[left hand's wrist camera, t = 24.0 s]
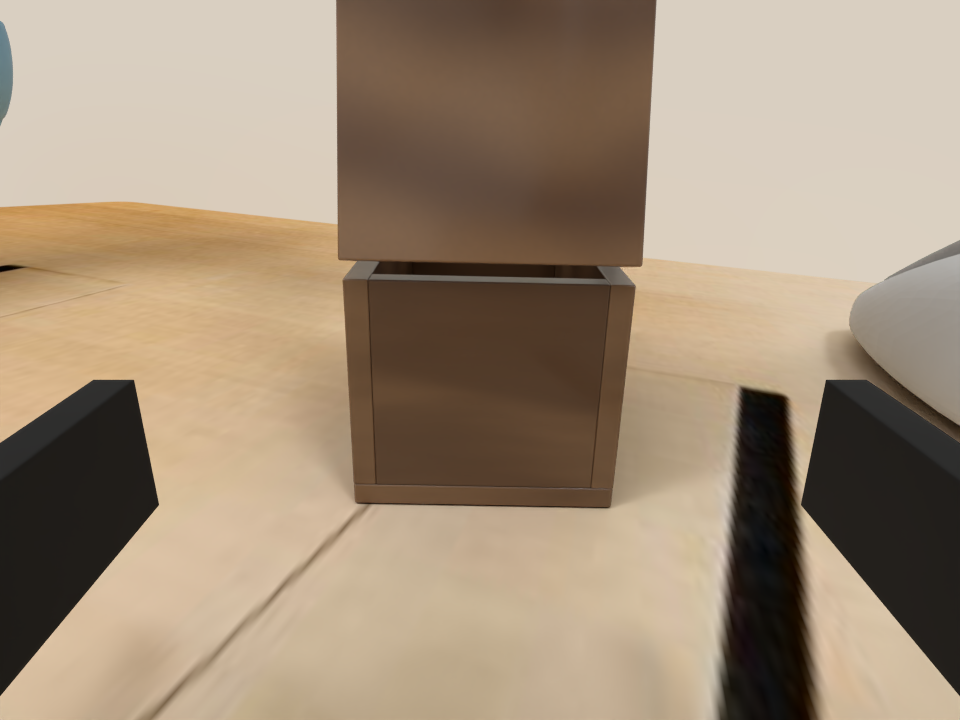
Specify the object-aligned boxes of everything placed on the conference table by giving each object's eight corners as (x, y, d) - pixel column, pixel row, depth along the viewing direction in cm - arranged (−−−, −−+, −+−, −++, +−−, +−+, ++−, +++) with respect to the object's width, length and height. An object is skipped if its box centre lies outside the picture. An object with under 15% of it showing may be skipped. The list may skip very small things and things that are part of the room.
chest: (400, 355, 40) (397, 208, 37) (561, 358, 41) (572, 212, 37) (354, 503, 25) (342, 278, 22) (610, 508, 25) (636, 285, 22)
